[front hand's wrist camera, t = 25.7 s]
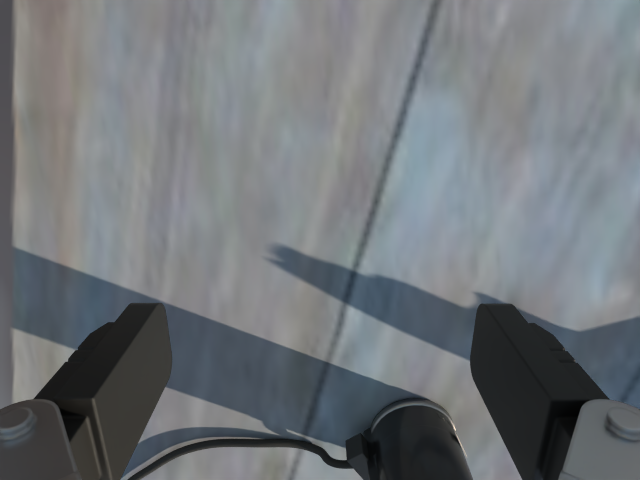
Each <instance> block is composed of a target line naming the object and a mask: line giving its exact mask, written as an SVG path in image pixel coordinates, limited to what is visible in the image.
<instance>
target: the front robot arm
mask: <svg viewBox="0 0 640 480" xmlns="http://www.w3.org/2000/svg"><path fill="white" fill-rule="evenodd" d="M470 366H471V373H472V377H473V380H474V382H475V384H476V386H477V388H478V390H479V392H480V394H481V397H482V399H483V401H484V403H485V405H486V407H487V409H488V411H489V413H490V415H491V417H492V419H493V421H494V423H495V425H496V427H497V429H498V431H499V433H500V435H501V437H502V439H503V441H504V443H505V445H506V447H507V449H508V451H509V453H510V455H511V457H512V460H513V462H514V464H515V466H516V468H517V470H518V472H519V474H520V476H521V478H522V480H640V409H638V408H636V407H633V406H631V405H628V404H625V403H622V402H619V401H614V400H610V399H609V398H608V397H607V396H606V395H605V394H604V393H603V391H602V390H601V389H600V388H599V387H598V386H597V385H596V383H595V382H594V381H593V380H592V379H591V378H590V377H589V375H588V374H587V373H586V372H585V371H584V370H583V369H582V367H581V366H580V365H579V364H578V363H575V359H574V358H573V357H572V356H571V355H570V354H569V353H568V351H565V348H564V347H563V346H562V345H561V343H560V342H559V341H558V340H557V339H556V338H555V337H554V335H552V334H551V333H549V332H548V331H546V330H544V329H543V328H541V327H540V326H538V325H537V324H535V323H528V322H527V321H526V320H525V319H524V317H523V316H522V315H521V314H520V313H519V311H518V310H517V309H516V308H515V306H514V305H512V304H480V305H479V307H478V309H477V313H476V320H475V327H474V334H473V341H472V348H471V355H470ZM171 368H172V352H171V345H170V338H169V331H168V324H167V317H166V311H165V307H164V305H163V304H162V303H131V304H129V305H128V306H127V308H126V309H125V310H124V311H123V313H122V314H121V315H120V316H119V318H118V319H117V320H116V321H115V322H108V323H106V324H105V325H103V326H102V327H100V328H99V329H97V330H95V331H94V332H92V333H91V334H89V336H88V337H87V338H86V339H85V340H84V341H83V342H82V344H81V345H80V346H79V347H78V350H76V351H75V352H74V353H73V354H72V355H71V356H70V357H69V359H68V362H65V363H64V364H63V366H62V367H61V368H60V369H59V370H58V371H57V372H56V374H55V375H54V376H53V377H52V378H51V379H50V381H49V382H48V383H47V384H46V385H45V386H44V387H43V389H42V390H41V391H40V392H39V393H38V394H37V396H36V397H35V398H34V399H32V400H26V401H21V402H18V403H15V404H12V405H9V406H7V407H4V408H2V409H0V480H120V479H121V477H122V475H123V473H124V471H125V468H126V466H127V464H128V462H129V460H130V458H131V456H132V454H133V452H134V450H135V448H136V446H137V444H138V442H139V440H140V438H141V436H142V433H143V431H144V429H145V427H146V425H147V423H148V421H149V419H150V417H151V415H152V413H153V411H154V409H155V407H156V405H157V403H158V401H159V398H160V396H161V394H162V392H163V390H164V388H165V386H166V384H167V382H168V380H169V377H170V373H171ZM459 442H460V440H459V438H458V436H457V434H456V431H455V427H454V424H453V422H452V419H451V417H450V415H449V414H448V412H447V411H446V410H445V409H444V408H442V407H441V406H440V405H438V404H436V403H434V402H431V401H428V400H424V399H406V400H401V401H398V402H395V403H393V404H391V405H389V406H387V407H386V408H384V409H383V410H382V411H380V412H379V414H378V415H377V416H376V417H375V419H374V420H373V422H372V425H371V428H369V429H368V430H366V431H364V436H363V435H362V434H361V433H360V434H358V435H356V436H354V437H352V438H350V439H348V440H346V454H347V460H336V459H333V458H331V457H330V456H329V455H328V453H327V452H326V451H325V450H324V449H323V448H321V447H319V446H317V445H314V444H311V443H308V442H304V441H298V440H289V439H217V440H208V441H203V442H198V443H194V444H191V445H187V446H184V447H182V448H179V449H177V450H174V451H172V452H170V453H168V454H166V455H165V456H163V457H161V458H160V459H158V460H157V461H155V462H153V463H152V464H150V465H149V466H147V467H146V468H144V469H142V470H141V471H139V472H138V473H136V474H135V475H133V476H132V477H130V478H129V479H128V480H140V479H142V478H143V477H145V476H146V475H148V474H150V473H151V472H153V471H154V470H156V469H158V468H159V467H161V466H162V465H164V464H166V463H167V462H169V461H171V460H173V459H175V458H177V457H179V456H181V455H184V454H187V453H190V452H194V451H198V450H202V449H208V448H216V447H292V448H299V449H304V450H307V451H310V452H313V453H315V454H318V455H319V456H320V457H321V458H322V459H323V461H324V462H325V463H326V464H328V465H330V466H332V467H335V468H342V469H350V468H354V469H355V471H356V472H357V473H358V474H359V475H360V476H361V477H362V478H363V480H473V478H472V475H471V473H470V470H469V467H468V465H467V462H466V459H465V456H464V454H463V451H464V449H463V447H462V445H461V446H460V444H461V443H459ZM461 447H462V448H461ZM462 449H463V451H462ZM464 453H465V451H464ZM465 455H466V454H465ZM466 457H467V456H466Z"/></svg>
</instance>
